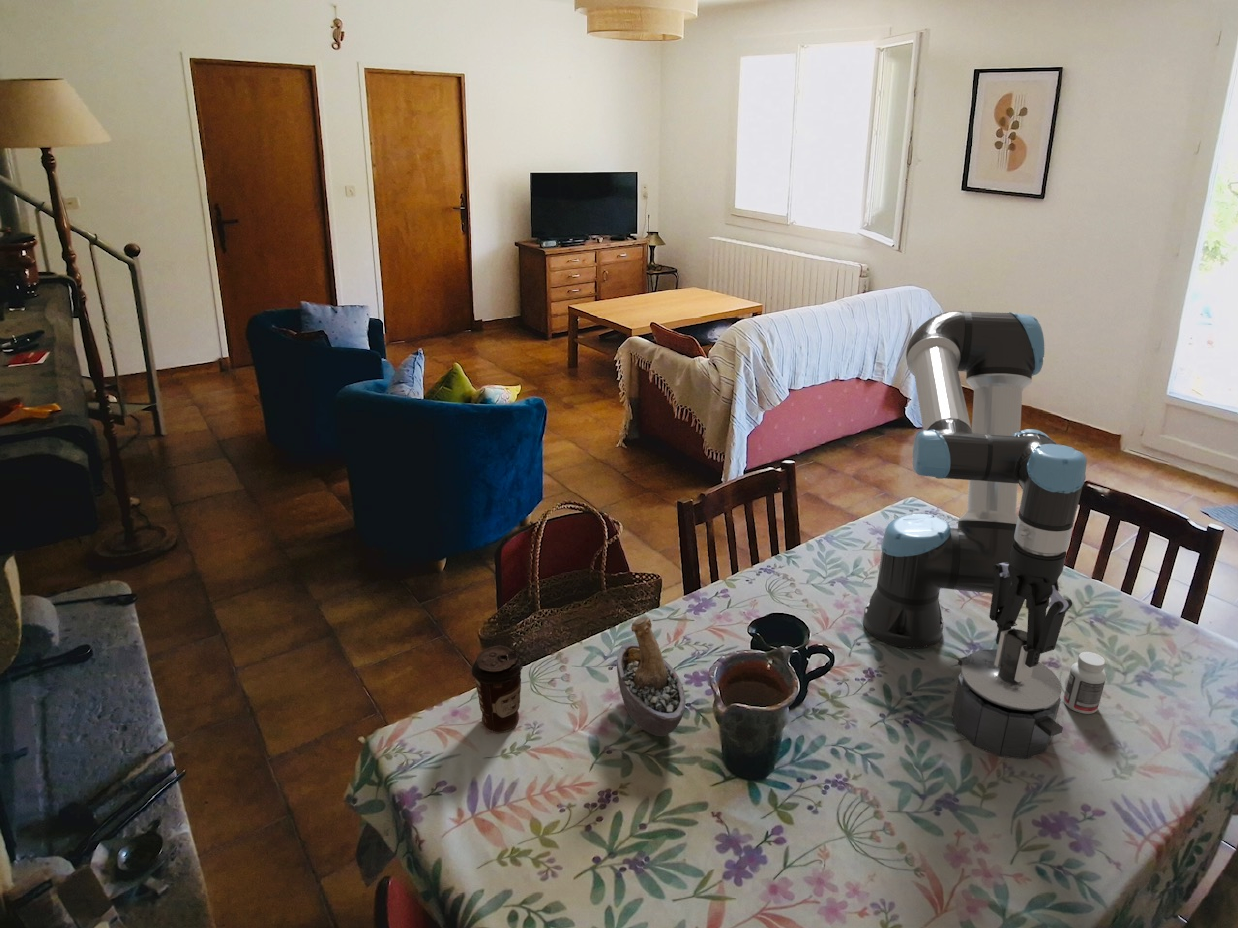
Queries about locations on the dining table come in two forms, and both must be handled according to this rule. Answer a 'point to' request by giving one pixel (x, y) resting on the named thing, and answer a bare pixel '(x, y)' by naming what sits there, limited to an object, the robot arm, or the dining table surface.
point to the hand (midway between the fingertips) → (1012, 671)
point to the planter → (649, 683)
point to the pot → (1002, 724)
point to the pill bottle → (1085, 683)
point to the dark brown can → (498, 687)
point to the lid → (1010, 678)
